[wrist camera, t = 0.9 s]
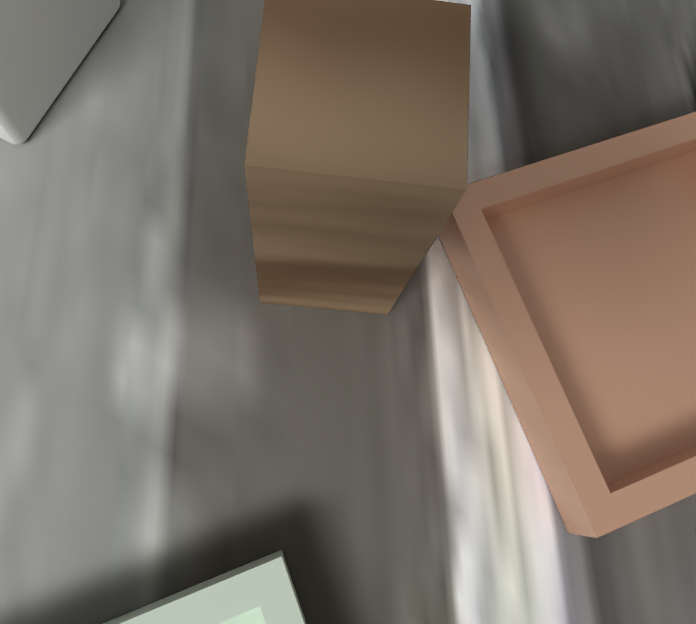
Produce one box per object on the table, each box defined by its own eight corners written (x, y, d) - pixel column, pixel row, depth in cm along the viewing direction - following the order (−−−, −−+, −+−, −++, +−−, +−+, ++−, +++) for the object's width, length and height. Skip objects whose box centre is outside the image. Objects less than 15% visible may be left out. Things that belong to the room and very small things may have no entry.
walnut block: (387, 314, 23) (466, 189, 13) (259, 302, 22) (244, 164, 13) (394, 198, 24) (470, 4, 14) (273, 185, 23) (267, -23, 14)
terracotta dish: (850, 406, 23) (901, 400, 22) (568, 533, 21) (596, 537, 19) (697, 128, 26) (730, 100, 24) (429, 215, 24) (443, 191, 22)
